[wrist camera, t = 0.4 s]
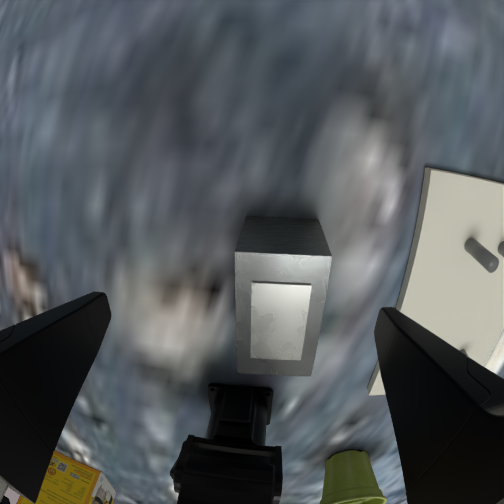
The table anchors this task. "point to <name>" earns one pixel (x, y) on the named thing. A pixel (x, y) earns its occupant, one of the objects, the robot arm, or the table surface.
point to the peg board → (456, 265)
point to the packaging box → (72, 484)
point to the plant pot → (350, 480)
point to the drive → (280, 294)
